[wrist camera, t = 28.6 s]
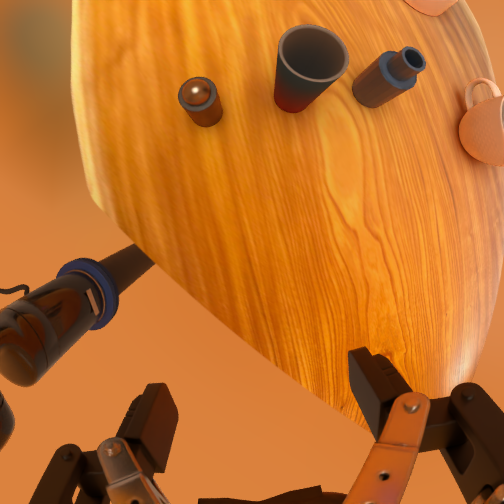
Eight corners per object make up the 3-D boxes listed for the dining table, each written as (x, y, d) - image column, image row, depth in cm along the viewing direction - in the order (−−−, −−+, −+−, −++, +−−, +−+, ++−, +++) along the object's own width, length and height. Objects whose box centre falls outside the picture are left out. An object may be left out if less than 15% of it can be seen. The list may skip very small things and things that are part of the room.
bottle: (357, 108, 37) (402, 78, 23) (348, 76, 36) (386, 36, 22) (388, 107, 37) (438, 81, 23) (379, 76, 36) (424, 41, 22)
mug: (433, 88, 36) (481, 67, 23) (471, 86, 35) (516, 71, 22) (459, 172, 39) (512, 172, 26) (494, 162, 38) (543, 161, 25)
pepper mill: (194, 130, 37) (177, 111, 27) (188, 102, 36) (171, 76, 26) (225, 123, 37) (218, 101, 27) (219, 94, 36) (211, 66, 26)
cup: (303, 127, 38) (333, 95, 23) (259, 105, 37) (265, 61, 22) (322, 89, 36) (358, 46, 22) (280, 68, 36) (296, 14, 21)
